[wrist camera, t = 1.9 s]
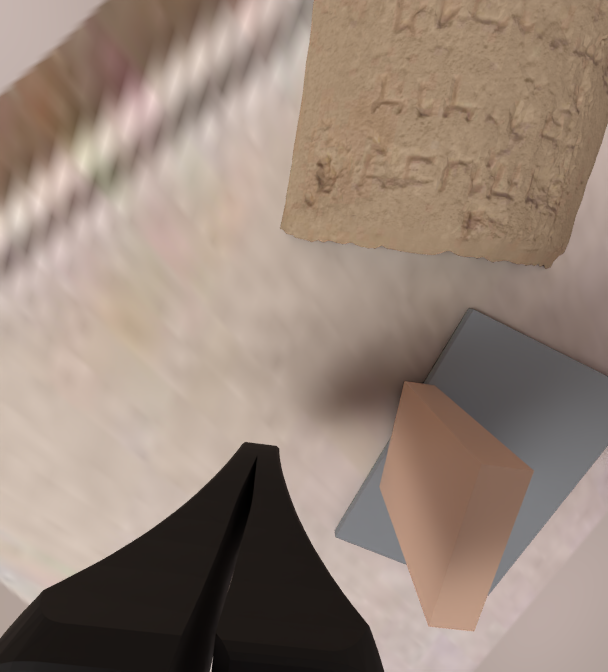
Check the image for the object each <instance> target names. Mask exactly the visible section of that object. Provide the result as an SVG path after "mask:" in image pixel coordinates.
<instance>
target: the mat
mask: <svg viewBox="0 0 608 672" xmlns="http://www.w3.org/2000/svg"><path fill="white" fill-rule="evenodd" d="M423 384H429V385H435V386H436V387H437V388H438V389H440V390H441V391H442V392H443V393H444V394H445V395H447V396H448V397H449V398H450V399H451V400H452V401H454V402H455V403H456V404H457V405H458V406H459V407H461V408H462V409H463V410H464V411H465V412H466V413H468V414H469V415H470V416H471V417H472V418H473V419H474V420H476V421H477V422H478V423H479V424H480V425H481V426H483V427H484V428H485V429H486V430H487V431H488V432H490V433H491V434H492V435H493V436H494V437H495V438H497V439H498V440H499V441H500V442H501V443H502V444H504V445H505V446H506V447H507V448H508V449H509V450H511V451H512V452H513V453H514V454H515V455H516V456H517V457H519V458H520V459H521V460H522V461H523V462H524V463H526V464H527V465H528V466H529V467H530V468H531V469H533V470H534V473H533V475H532V478H531V481H530V483H529V486H528V489H527V491H526V494H525V497H524V499H523V502H522V505H521V507H520V510H519V513H518V515H517V518H516V521H515V523H514V526H513V529H512V531H511V534H510V537H509V539H508V542H507V545H506V547H505V550H504V553H503V555H502V558H501V561H500V563H499V566H498V569H497V571H496V574H495V577H494V579H493V582H492V585H491V587H490V590H489V593H488V595H489V594H490V593H491V591H492V590H493V589H494V588H495V586H496V585H497V584H498V583H499V581H500V580H501V579H502V578H503V576H504V575H505V574H506V573H507V571H508V570H509V569H510V568H511V566H512V565H513V564H514V563H515V561H516V560H517V559H518V558H519V556H520V555H521V554H522V553H523V551H524V550H525V549H526V548H527V546H528V545H529V544H530V543H531V541H532V540H533V539H534V538H535V536H536V535H537V534H538V533H539V531H540V530H541V529H542V528H543V526H544V525H545V524H546V523H547V521H548V520H549V519H550V518H551V516H552V515H553V514H554V512H555V511H556V510H557V509H558V507H559V506H560V505H561V504H562V502H563V501H564V500H565V499H566V497H567V496H568V495H569V494H570V492H571V491H572V490H573V489H574V487H575V486H576V485H577V484H578V482H579V481H580V480H581V479H582V477H583V476H584V475H585V474H586V472H587V471H588V470H589V469H590V467H591V466H592V465H593V464H594V462H595V461H596V460H597V459H598V457H599V456H600V455H601V454H602V452H603V451H604V450H605V449H606V447H607V446H608V376H606V375H604V374H602V373H600V372H598V371H596V370H594V369H592V368H590V367H588V366H586V365H584V364H582V363H580V362H578V361H576V360H574V359H572V358H570V357H568V356H566V355H564V354H562V353H560V352H558V351H556V350H554V349H552V348H550V347H548V346H546V345H544V344H542V343H540V342H538V341H536V340H534V339H532V338H530V337H528V336H526V335H524V334H522V333H520V332H518V331H516V330H514V329H512V328H510V327H508V326H506V325H504V324H502V323H500V322H498V321H496V320H494V319H492V318H490V317H488V316H486V315H484V314H482V313H480V312H478V311H476V310H474V309H470V308H469V309H468V310H467V312H466V314H465V315H464V317H463V319H462V320H461V322H460V324H459V325H458V327H457V329H456V330H455V332H454V333H453V335H452V337H451V338H450V340H449V342H448V343H447V345H446V347H445V348H444V350H443V352H442V353H441V355H440V357H439V358H438V360H437V362H436V363H435V365H434V367H433V368H432V370H431V372H430V373H429V375H428V377H427V378H426V380H425V382H424V383H423ZM390 440H391V438H390ZM390 440H389V441H388V443H387V445H386V446H385V448H384V450H383V451H382V453H381V455H380V456H379V458H378V460H377V461H376V463H375V465H374V466H373V468H372V470H371V471H370V473H369V475H368V476H367V478H366V480H365V481H364V483H363V485H362V486H361V488H360V490H359V491H358V493H357V495H356V496H355V498H354V500H353V501H352V503H351V505H350V506H349V508H348V510H347V511H346V513H345V515H344V516H343V518H342V520H341V521H340V523H339V525H338V526H337V528H336V529H335V537H336V538H339V539H342V540H344V541H347V542H349V543H352V544H354V545H357V546H360V547H362V548H365V549H367V550H370V551H372V552H375V553H378V554H380V555H383V556H385V557H388V558H390V559H393V560H396V561H398V562H401V563H403V564H406V561H405V558H404V555H403V552H402V550H401V547H400V544H399V541H398V538H397V535H396V533H395V530H394V527H393V524H392V521H391V518H390V516H389V513H388V510H387V507H386V504H385V501H384V499H383V496H382V493H381V490H380V487H379V486H380V482H381V478H382V473H383V469H384V465H385V461H386V457H387V452H388V448H389V444H390ZM406 565H407V564H406ZM488 595H487V596H488Z"/></svg>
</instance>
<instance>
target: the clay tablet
mask: <svg viewBox="0 0 608 672" xmlns="http://www.w3.org/2000/svg"><path fill="white" fill-rule="evenodd" d="M607 124H608V0H314V4H313V13H312V26H311V34H310V43H309V49H308V55H307V61H306V69H305V78H304V87H303V95H302V102H301V109H300V115H299V120H298V126H297V132H296V139H295V143H294V150H293V157H292V167H291V171H290V178H289V184H288V189H287V195H286V204H285V208H284V213H283V217H282V222H281V227H280V229H283V230H284V231H285V232H286V234H290V235H294V237H295V238H300V239H305V240H308V241H310V242H314V241H317V240H319V241H321V242H323V243H324V242H326V241H333V242H336V243H341V244H346V243H349V242H352V243H354V244H355V245H358V246H360V247H366V248H374V249H375V248H377V247H380V246H384V247H385V248H387V249H393V250H398V251H404V252H410V253H417V254H427V255H428V254H429V255H436V254H440V253H442V252H445V251H451V252H453V253H454V254H456V255H459V256H464V257H475V258H481V257H484V258H486V259H487V260H489V261H491V262H495V261H498V262H499V261H503V260H506V261H510V262H512V263H515V264H518V265H519V264H525V266H527V265H531V264H532V265H533V266H535V265H538V264H539V266H540V267H541V266H542V265H544V267H545V269H547V268H549V267H551V265H552V263H553V261H554V260H555V259H556V258H557V257H558V256H559V255H561V254H563V253H564V252H565V249H566V247H567V245H568V243H569V239H570V236H571V232H572V229H573V225H574V221H575V217H576V214H577V212H578V209H579V206H580V204H581V201H582V198H583V195H584V191H585V187H586V184H587V181H588V179H589V176H590V174H591V172H592V169H593V166H594V163H595V160H596V157H597V154H598V152H599V149H600V146H601V144H602V140H603V137H604V133H605V129H606V127H607Z"/></svg>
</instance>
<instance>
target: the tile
mask: <svg viewBox="0 0 608 672" xmlns="http://www.w3.org/2000/svg"><path fill="white" fill-rule="evenodd" d="M533 473H534V470H533V469H531V468H530V467H529V466H528V465H527V464H526V463H524V462H523V461H522V460H521V459H520V458H519V457H517V456H516V455H515V454H514V453H513V452H512V451H511V450H509V449H508V448H507V447H506V446H505V445H504V444H502V443H501V442H500V441H499V440H498V439H497V438H495V437H494V436H493V435H492V434H491V433H490V432H488V431H487V430H486V429H485V428H484V427H483V426H481V425H480V424H479V423H478V422H477V421H476V420H474V419H473V418H472V417H471V416H470V415H469V414H468V413H466V412H465V411H464V410H463V409H462V408H461V407H459V406H458V405H457V404H456V403H455V402H454V401H452V400H451V399H450V398H449V397H448V396H447V395H445V394H444V393H443V392H442V391H441V390H440V389H438V388H437V387H436V386H435V385H429V384H421V383H414V382H407V381H404V385H403V389H402V394H401V398H400V402H399V406H398V410H397V415H396V419H395V423H394V427H393V431H392V436H391V440H390V444H389V448H388V452H387V457H386V461H385V465H384V469H383V473H382V478H381V482H380V486H379V487H380V490H381V493H382V496H383V499H384V501H385V504H386V507H387V510H388V513H389V516H390V518H391V521H392V524H393V527H394V530H395V533H396V535H397V538H398V541H399V544H400V547H401V550H402V552H403V555H404V558H405V561H406V564H407V567H408V569H409V572H410V575H411V578H412V581H413V584H414V586H415V589H416V592H417V595H418V598H419V601H420V603H421V606H422V609H423V612H424V615H425V618H426V620H427V623H428V626H429V627H439V628H448V629H457V630H466V631H474V630H475V628H476V625H477V622H478V620H479V617H480V614H481V612H482V609H483V606H484V603H485V601H486V598H487V595H488V593H489V590H490V587H491V585H492V582H493V579H494V577H495V574H496V571H497V569H498V566H499V563H500V561H501V558H502V555H503V553H504V550H505V547H506V545H507V542H508V539H509V537H510V534H511V531H512V529H513V526H514V523H515V521H516V518H517V515H518V513H519V510H520V507H521V505H522V502H523V499H524V497H525V494H526V491H527V489H528V486H529V483H530V481H531V478H532V475H533Z"/></svg>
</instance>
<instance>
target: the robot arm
mask: <svg viewBox="0 0 608 672" xmlns="http://www.w3.org/2000/svg"><path fill="white" fill-rule="evenodd" d="M232 575H233V576H232ZM230 582H231V583H230ZM229 585H230V586H229ZM228 589H229V590H228ZM212 658H213V663H212ZM211 663H212V672H384V669H383V666H382V662H381V659H380V656H379V653H378V649H377V647H376V644H375V641H374V638H373V635H372V632H371V630H370V627H369V625H368V624H367V623H366V622H365V620H364V619H363V618H362V617H361V615H360V614H359V613H358V612H357V610H356V609H355V608H354V607H353V605H352V604H351V603H350V601H349V600H348V599H347V597H346V596H345V595H344V593H343V592H342V590H341V589H340V588H339V586H338V585H337V583H336V582H335V580H334V579H333V578H332V576H331V575H330V573H329V572H328V570H327V568H326V567H325V565H324V563H323V562H322V560H321V559H320V557H319V555H318V554H317V552H316V550H315V549H314V547H313V545H312V544H311V542H310V540H309V538H308V536H307V534H306V532H305V530H304V528H303V526H302V524H301V522H300V520H299V518H298V515H297V513H296V511H295V508H294V506H293V503H292V501H291V498H290V495H289V492H288V489H287V486H286V483H285V479H284V476H283V472H282V468H281V463H280V456H279V448H278V447H277V446H272V445H264V444H256V443H248V442H245V443H243V444H242V445H241V447H240V448H239V449H238V451H237V452H236V453H235V454H234V455H233V457H232V458H231V459H230V460H229V461H228V463H227V464H226V465H225V466H224V467H223V468H222V469H221V470H220V471H219V472H218V473H217V474H216V475H215V476H214V477H213V478H212V479H211V480H210V481H209V482H208V483H207V484H206V485H205V486H204V487H203V488H202V489H201V490H200V491H199V492H198V493H197V494H196V495H194V496H193V497H192V498H191V499H190V500H189V501H188V502H186V503H185V504H184V505H183V506H182V507H180V508H179V509H178V510H177V511H175V512H174V513H173V514H171V515H170V516H169V517H167V518H166V519H165V520H163V521H162V522H161V523H159V524H158V525H156V526H155V527H154V528H152V529H151V530H149V531H148V532H147V533H145V534H144V535H142V536H141V537H139V538H138V539H136V540H134V541H133V542H131V543H129V544H128V545H126V546H125V547H123V548H121V549H120V550H118V551H116V552H115V553H113V554H111V555H110V556H108V557H106V558H105V559H103V560H101V561H99V562H97V563H96V564H94V565H92V566H90V567H88V568H86V569H84V570H82V571H80V572H78V573H76V574H74V575H73V576H71V577H69V578H67V579H65V580H63V581H61V582H59V583H57V584H55V585H53V586H51V587H49V588H47V589H45V590H43V591H42V592H41V593H40V595H39V596H38V597H37V598H36V599H35V600H34V601H33V602H32V603H31V604H30V605H29V606H28V607H27V609H25V610H24V611H23V613H22V614H21V615H20V616H19V617H18V618H17V619H16V620H15V622H14V623H13V624H12V625H11V626H10V627H9V628H8V630H7V631H6V632H5V633H4V634H3V636H2V637H1V638H0V672H210V667H211Z"/></svg>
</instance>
